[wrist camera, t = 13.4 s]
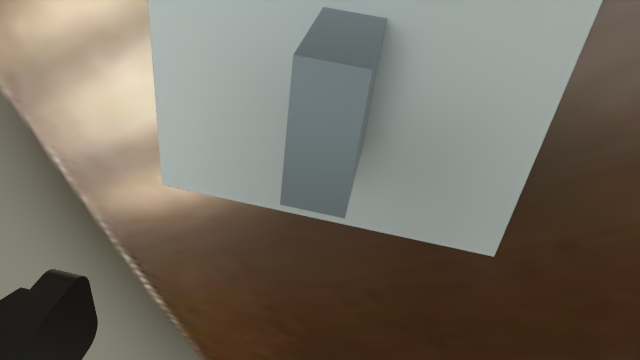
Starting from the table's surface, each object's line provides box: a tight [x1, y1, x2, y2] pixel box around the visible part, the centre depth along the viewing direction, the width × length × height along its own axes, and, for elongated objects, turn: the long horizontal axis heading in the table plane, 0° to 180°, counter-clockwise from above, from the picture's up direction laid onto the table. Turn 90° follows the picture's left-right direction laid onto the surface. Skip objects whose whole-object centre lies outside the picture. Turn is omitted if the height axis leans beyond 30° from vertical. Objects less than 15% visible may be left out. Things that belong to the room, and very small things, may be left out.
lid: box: [148, 0, 603, 257], centre depth 21 cm, size 17×15×7 cm
